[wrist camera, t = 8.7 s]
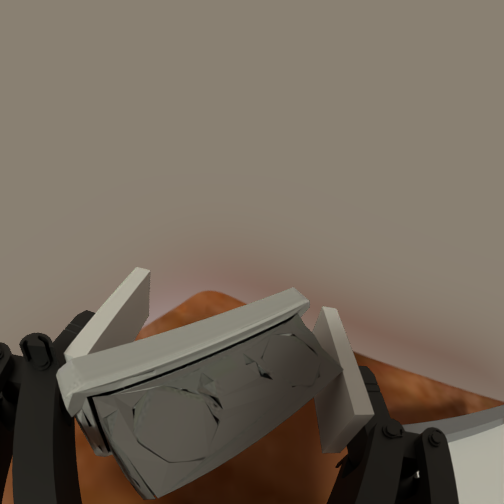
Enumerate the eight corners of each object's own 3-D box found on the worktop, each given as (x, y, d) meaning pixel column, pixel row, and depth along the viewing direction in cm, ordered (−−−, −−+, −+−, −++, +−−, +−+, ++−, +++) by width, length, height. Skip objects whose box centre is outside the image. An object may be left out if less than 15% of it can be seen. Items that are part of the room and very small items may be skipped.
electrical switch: (228, 388, 16) (271, 262, 12) (286, 444, 13) (371, 333, 9) (92, 446, 10) (36, 317, 6) (146, 529, 7) (110, 503, 3)
